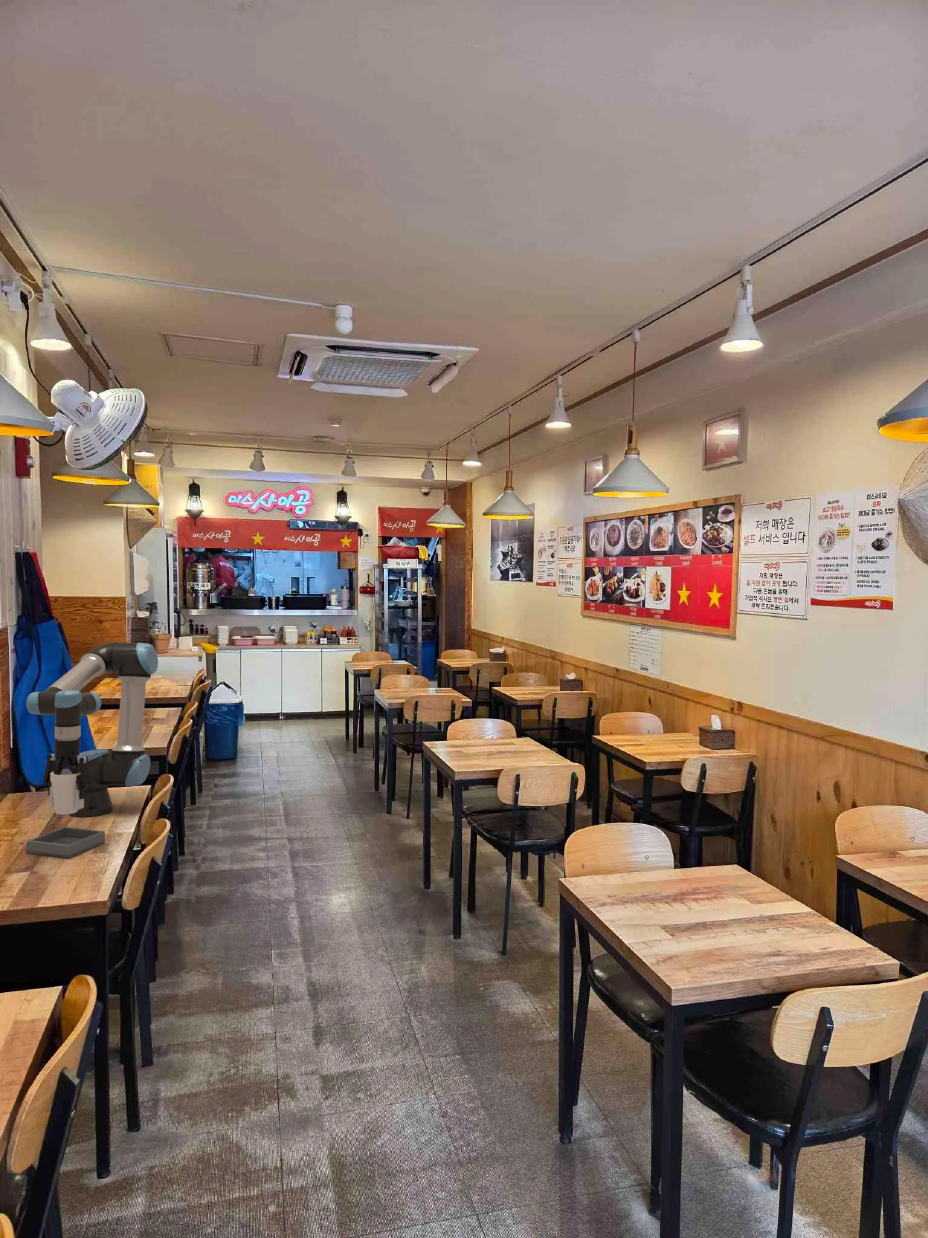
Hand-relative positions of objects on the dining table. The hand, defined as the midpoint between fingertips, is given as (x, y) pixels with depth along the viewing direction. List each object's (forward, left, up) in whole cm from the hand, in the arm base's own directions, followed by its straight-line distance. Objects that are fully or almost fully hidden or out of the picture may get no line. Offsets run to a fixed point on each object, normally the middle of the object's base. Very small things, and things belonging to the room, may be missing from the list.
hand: (66, 807), depth 247 cm
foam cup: (0, 0, -2) cm, 2 cm away
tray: (0, 0, -14) cm, 14 cm away
